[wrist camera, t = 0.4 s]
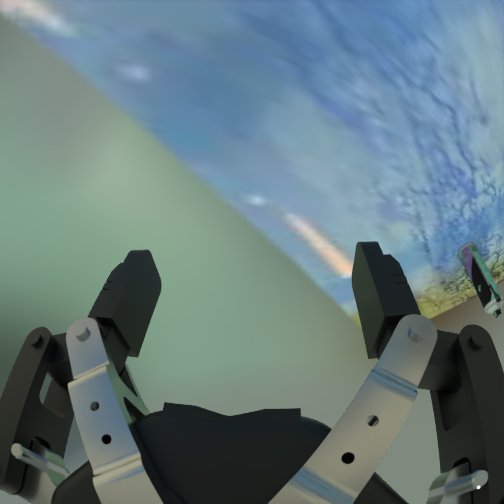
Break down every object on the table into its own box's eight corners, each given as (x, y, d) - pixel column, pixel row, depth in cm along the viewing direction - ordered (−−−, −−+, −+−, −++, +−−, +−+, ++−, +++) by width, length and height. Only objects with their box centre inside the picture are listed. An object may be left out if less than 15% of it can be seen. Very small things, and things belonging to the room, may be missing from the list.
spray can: (457, 248, 60) (490, 317, 47) (474, 239, 58) (509, 306, 45) (458, 258, 64) (488, 324, 51) (473, 249, 62) (505, 314, 49)
